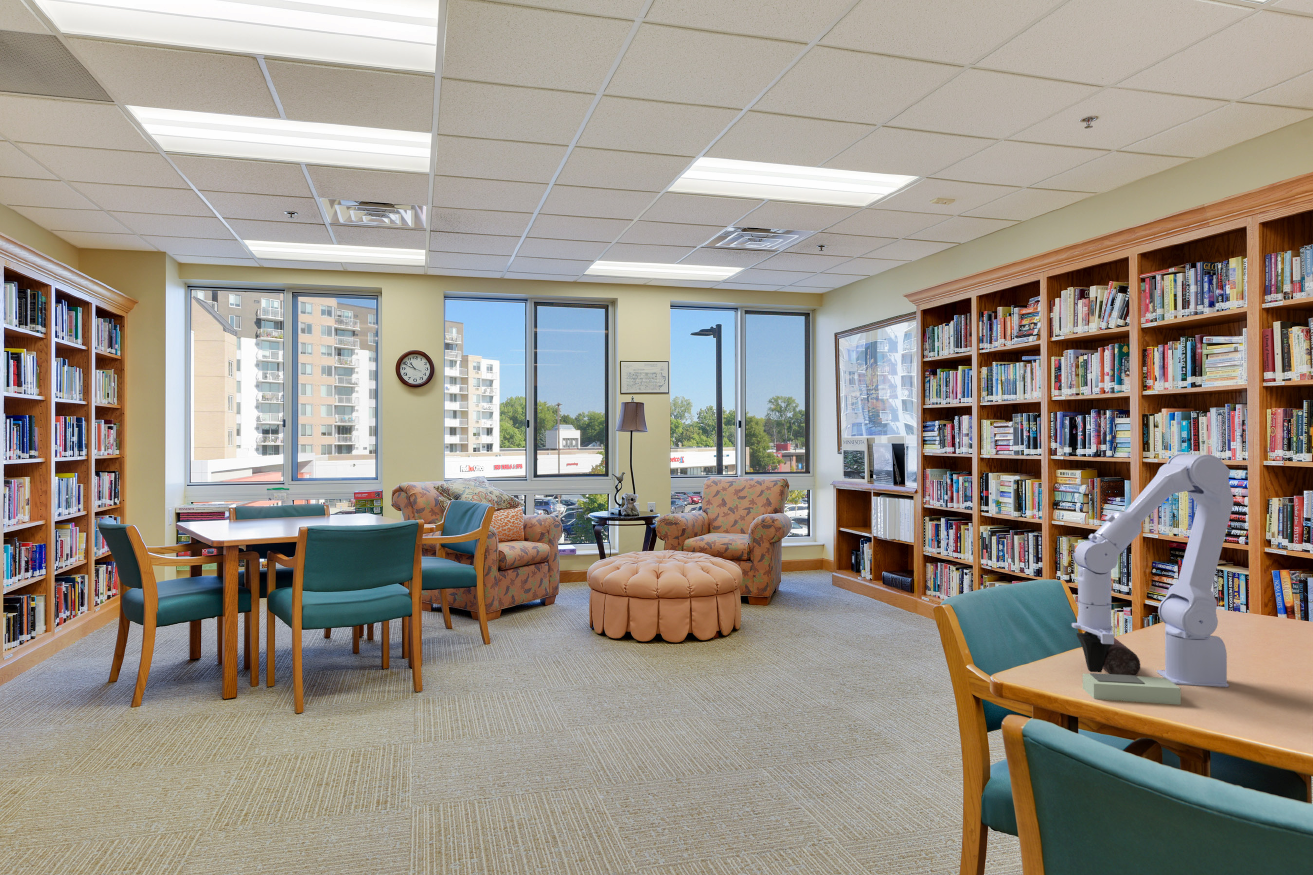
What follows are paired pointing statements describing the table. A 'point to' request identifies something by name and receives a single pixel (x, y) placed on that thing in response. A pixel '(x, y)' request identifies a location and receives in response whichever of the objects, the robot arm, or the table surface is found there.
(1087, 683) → the pale green slab
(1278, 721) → the table surface
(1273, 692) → the table surface
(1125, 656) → the can
